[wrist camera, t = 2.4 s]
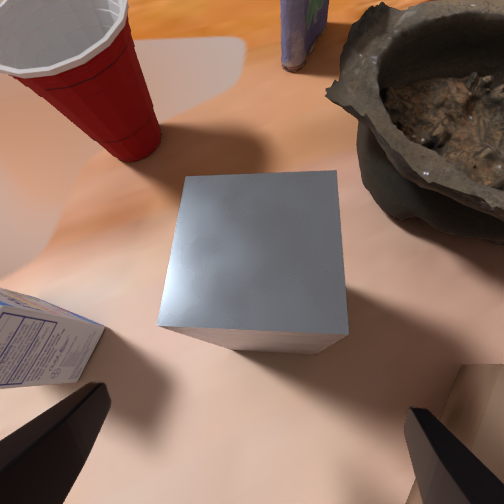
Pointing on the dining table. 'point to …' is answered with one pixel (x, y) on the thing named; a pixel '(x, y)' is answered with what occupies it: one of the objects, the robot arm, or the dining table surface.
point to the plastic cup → (82, 68)
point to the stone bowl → (430, 112)
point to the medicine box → (42, 342)
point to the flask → (301, 30)
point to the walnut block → (476, 417)
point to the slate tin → (258, 263)
